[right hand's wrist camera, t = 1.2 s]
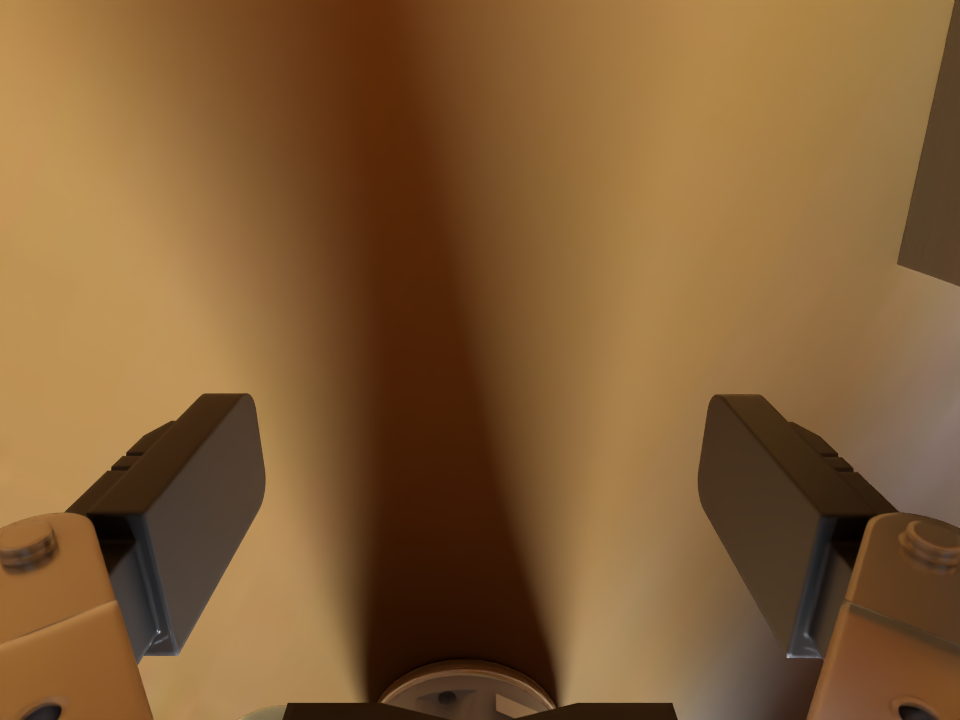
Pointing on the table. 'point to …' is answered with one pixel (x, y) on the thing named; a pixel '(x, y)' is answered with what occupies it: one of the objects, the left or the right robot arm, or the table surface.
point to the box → (939, 177)
